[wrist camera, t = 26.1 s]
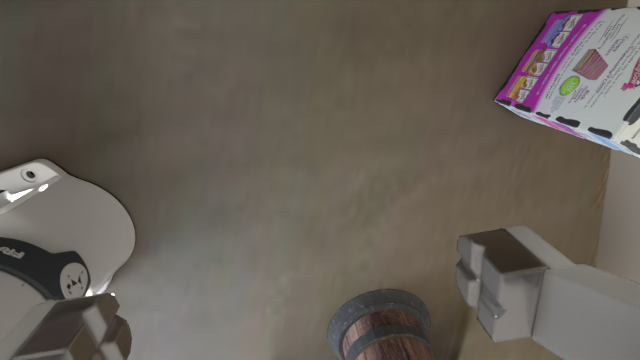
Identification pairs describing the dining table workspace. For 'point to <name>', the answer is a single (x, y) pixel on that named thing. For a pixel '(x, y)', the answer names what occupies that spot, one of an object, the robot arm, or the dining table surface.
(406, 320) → the tankard
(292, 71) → the dining table surface
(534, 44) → the candy bar box
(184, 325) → the dining table surface
